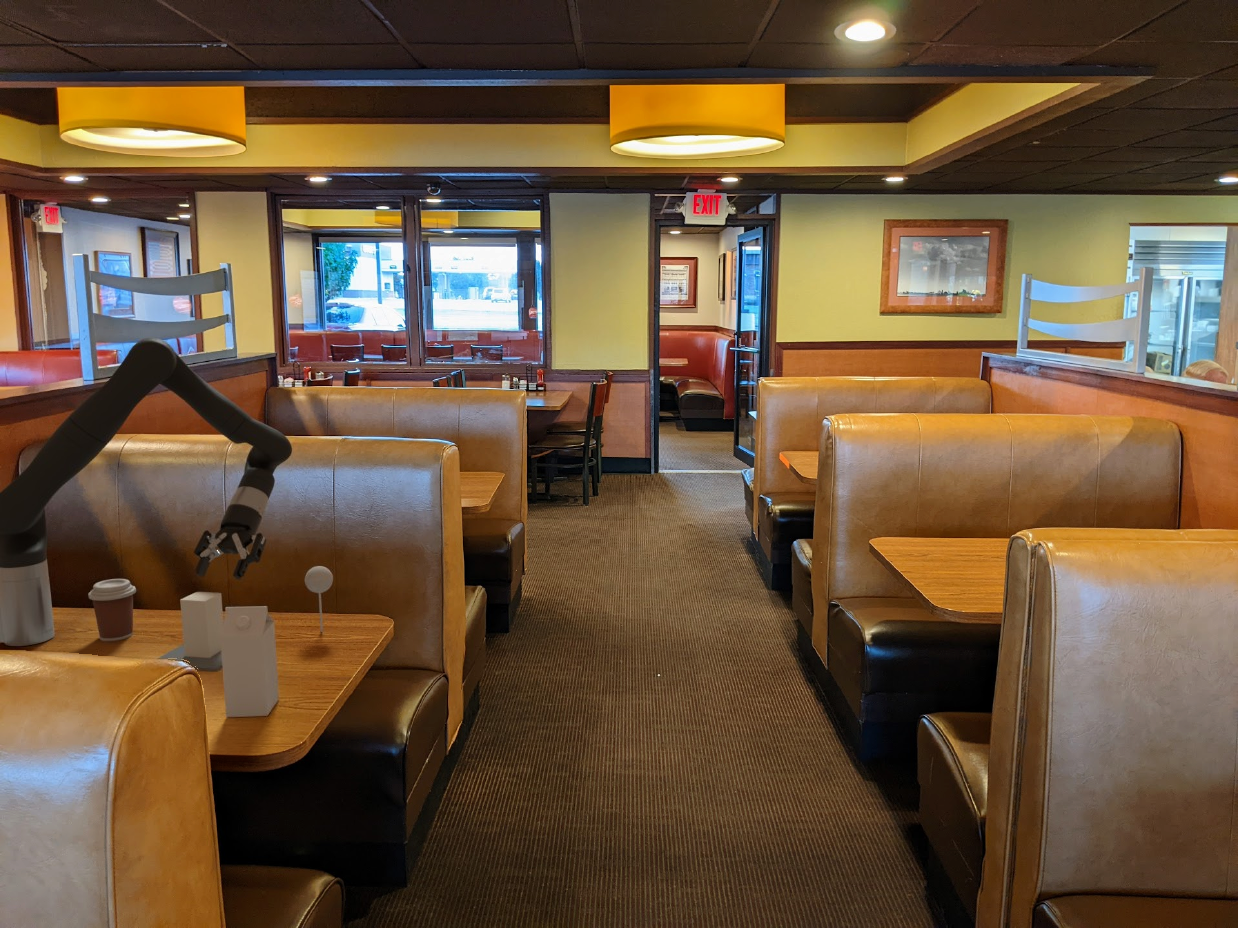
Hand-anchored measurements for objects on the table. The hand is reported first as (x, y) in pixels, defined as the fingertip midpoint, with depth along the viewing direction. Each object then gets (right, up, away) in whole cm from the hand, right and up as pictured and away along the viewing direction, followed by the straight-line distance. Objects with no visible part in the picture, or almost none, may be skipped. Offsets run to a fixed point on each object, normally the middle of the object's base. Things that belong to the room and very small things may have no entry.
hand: (218, 576), depth 191 cm
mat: (-1, -16, -4) cm, 16 cm away
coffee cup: (-26, -14, +7) cm, 30 cm away
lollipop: (+19, -14, +10) cm, 25 cm away
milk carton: (+19, -20, -29) cm, 40 cm away
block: (-1, -15, -4) cm, 16 cm away
